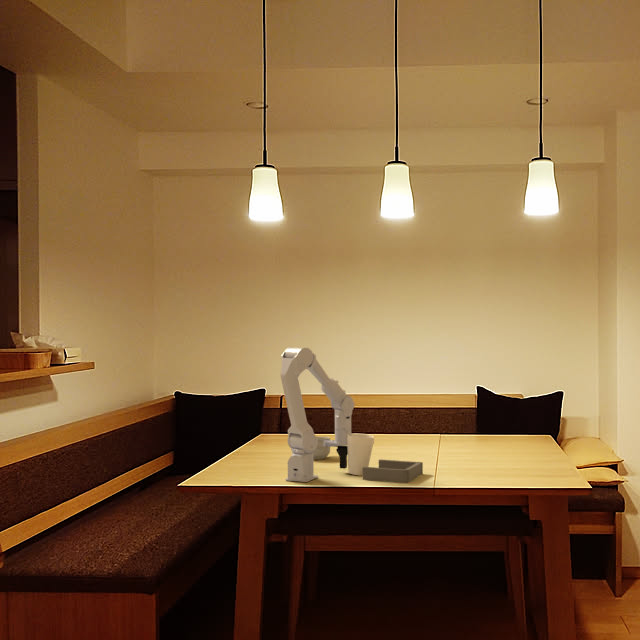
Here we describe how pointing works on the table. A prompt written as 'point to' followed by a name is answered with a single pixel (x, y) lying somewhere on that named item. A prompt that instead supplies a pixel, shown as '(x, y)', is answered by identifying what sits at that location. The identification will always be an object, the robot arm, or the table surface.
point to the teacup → (321, 449)
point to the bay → (394, 471)
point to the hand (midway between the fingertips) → (343, 468)
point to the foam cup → (359, 452)
